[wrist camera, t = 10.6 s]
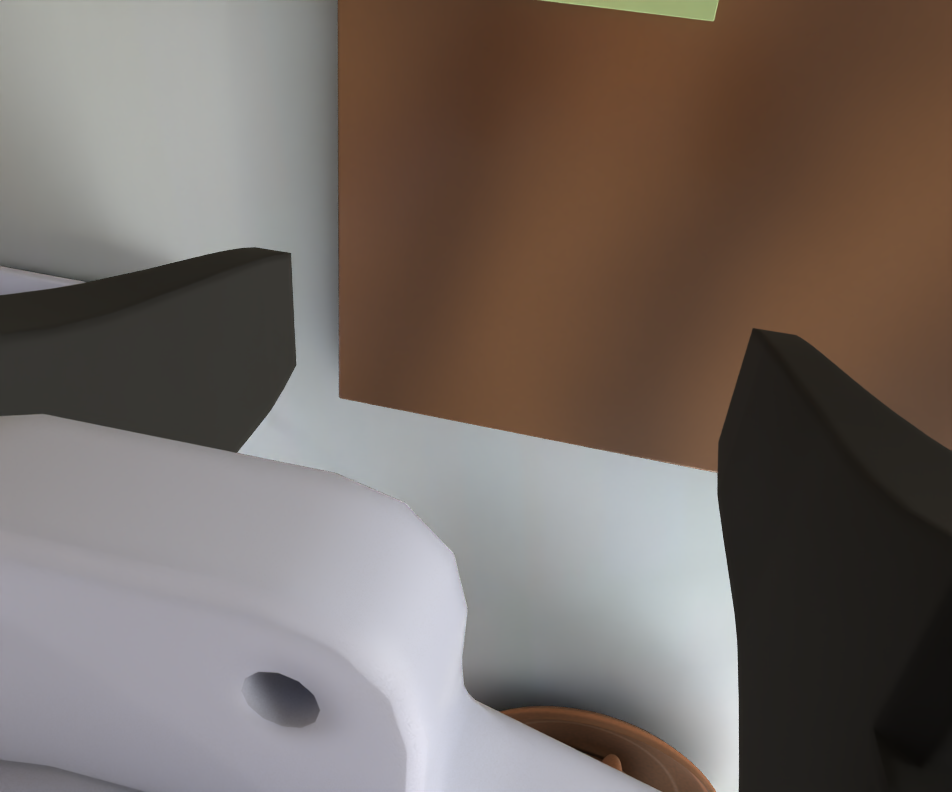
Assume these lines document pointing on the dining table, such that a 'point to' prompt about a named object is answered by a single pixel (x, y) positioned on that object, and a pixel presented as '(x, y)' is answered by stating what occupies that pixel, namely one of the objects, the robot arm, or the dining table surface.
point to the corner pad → (657, 7)
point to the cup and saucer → (616, 746)
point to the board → (640, 210)
